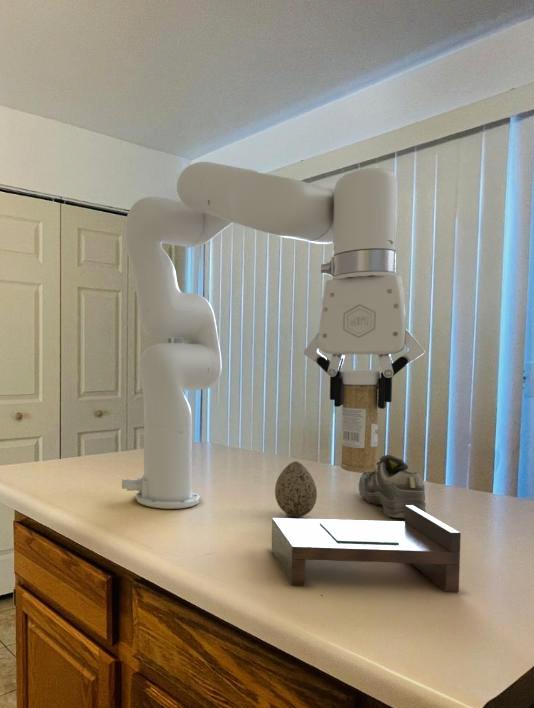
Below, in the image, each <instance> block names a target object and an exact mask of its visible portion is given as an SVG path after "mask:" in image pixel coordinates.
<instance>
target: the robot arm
mask: <svg viewBox="0 0 534 708" xmlns="http://www.w3.org/2000/svg"><path fill="white" fill-rule="evenodd" d="M398 187H399V186H398V177H397V176H396V174H395V173H394V172H393V171H392V170H390V169H389V168H388V169H387V168H384V167H383V168H382V167H368V168H362V169H357V170H353V171H350V172H348V173H346V174H344V175H342V176H341V177H340V178H339V179H338V180H337V181H336V183H335V184H334V188H330V187H323V186H320V185H317V184H314V183H310V182H307V181H303V180H299V179H294V178H290V177H284V176H279V175H275V174H269V173H263V172H259V171H257V170H253V169H248V168H242V167H237V166H232V165H226V164H222V163H216V162H210V161H198V162H194V163H192V164H190V165H188V166H187V167H185V168H184V169H183V170H181V172H180V174H179V176H178V178H177V182H176V191H177V195H178V197H179V199H180V200H176V199H171V198H167V197H158V196H148V197H143V198H139V199H138V200H137V201H135V202H134V203H133V204H132V205H131V207H130V209H129V211H128V212H127V215H126V218H125V222H124V223H125V224H124V233H123V234H124V245H125V249H126V250H125V251H126V253H127V256H128V259H129V262H130V265H131V270H132V273H133V278H134V285H135V287H134V288H135V294H136V299H137V300H136V301H137V307H138V315H139V320H140V325H141V328H142V331H143V332H144V333H145V334H146V335H147V336H149V337H152V338H157V339H177V340H178V339H180V340H181V341H182V342H161V343H155V344H153V345H150V346H149V347H147V348H146V349H145V350H143V352H142V354H141V356H140V357H139V361H138V373H139V378H140V385H141V388H142V389H141V390H142V397H143V398H142V399H143V474H142V478H141V477H138V478H137V479H125V478H124V479H123V478H122V479H121V489H122V490H126V491H127V492H129V491H130V492H133V491H136V494H135V498H136V499H135V500H136V501H137V503H139V504H141V505H143V506H146V507H150V508H155V509H164V510H165V509H166V510H167V509H168V510H173V509H175V510H177V509H186V508H191V507H194V506H197V505H198V504H199V503H200V495H199V494H198V493H197V492H195V491H193V490H192V477H193V476H192V473H193V469H192V468H193V467H192V466H193V464H192V463H193V461H192V458H193V457H192V456H193V450H192V449H193V414H192V408H191V406H190V402H189V401H188V399H187V397H186V394H185V392H184V391H198V390H199V391H200V390H207V389H210V388H213V387H214V386H215V385H216V384H217V383H218V382H219V380H220V377H221V375H222V369H223V365H222V364H223V363H222V362H223V361H222V353H221V347H220V341H219V335H218V329H217V323H216V322H217V321H216V317H215V312H214V309H213V307H212V305H211V304H210V302H209V301H208V299H206V297H204V296H202V295H201V294H197V293H193V292H183V291H181V290H180V288H179V284H178V278H177V272H176V269H175V266H174V263H173V261H172V259H171V257H170V256H169V254H168V253H167V252H166V250H165V249H164V247H163V245H162V244H165V245H171V246H177V247H185V248H198V247H201V246H204V245H205V244H207V243H209V242H210V241H211V240H213V239H214V238H215V237H216V236H217V235H219V234H220V233H222V232H223V231H224V230H225V229H227V228H228V227H229V226H231V225H232V224H235V225H239V226H242V227H246V228H250V229H253V230H256V231H259V232H262V233H266V234H268V235H269V234H270V235H273V236H276V237H282V238H287V239H293V240H298V241H303V242H307V243H312V244H317V245H318V244H319V245H328V244H332V256H331V259H330V260H329V262H327V263H321V265H320V273H321V275H329V276H330V277H331V279H328V280H326V281H325V283H324V287H323V292H322V298H321V303H320V313H319V326H318V333H317V334H316V335H315V336H314V338H313V339H312V340H311V342H310V343H309V344H308V345H307V346H306V348H305V349H304V351H303V354H304V355H305V356H306V357H307V358H309V359H310V360H312V361H313V362H315V363H316V364H317V365H318V366H319V367H320V368H321V369H322V370H323V371H324V372H325V373H326V374H327V376H328V377H329V400H330V401H333V406H334V407H335V408H336V407H338V408H339V407H341V406H343V386H344V384H342V372H343V371H342V367H343V364H344V361H345V357H346V355H377V356H378V359H379V363H380V364H379V365H380V367H381V371H382V372H381V373H380V378H379V380H378V402H377V403H378V406H377V409H382V410H385V409H386V408H387V403H392V401H393V400H392V399H393V377H395V375H397V373H399V372H400V371H401V370H402V369H404V368H405V367H406V366H407V365H409V364H410V363H412V362H413V361H416V359H418V358H419V357H422V355H424V354H425V349H424V348H423V347H422V346H421V345H420V343H419V342H418V340H416V339H415V337H414V336H413V335H412V334H411V333H410V331H409V330H408V329H407V326H406V324H407V323H406V318H407V317H406V301H405V291H404V284H403V279H402V276H401V275H397V274H396V261H397V252H396V251H397V225H398V224H397V222H398V191H399V190H398V189H399V188H398ZM405 346H406V347H407V349H408V350H407V352H406V353H404V354H403V355H401V356H400V357H397V359H396V360H395V361H393V358H392V355H393V354H397V353H400V352H402V351H403V350H404V349H405ZM319 350H320V351H321V352H322V353H324V354H327V355H331V357H330V359H329V358H327V357H326V356H324V355H323V354H321V353H320V351H319Z"/></svg>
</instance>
